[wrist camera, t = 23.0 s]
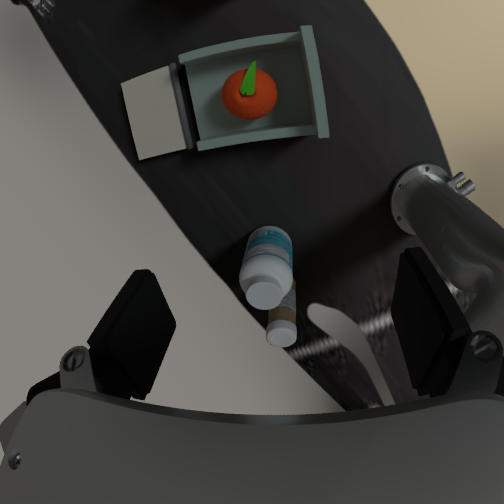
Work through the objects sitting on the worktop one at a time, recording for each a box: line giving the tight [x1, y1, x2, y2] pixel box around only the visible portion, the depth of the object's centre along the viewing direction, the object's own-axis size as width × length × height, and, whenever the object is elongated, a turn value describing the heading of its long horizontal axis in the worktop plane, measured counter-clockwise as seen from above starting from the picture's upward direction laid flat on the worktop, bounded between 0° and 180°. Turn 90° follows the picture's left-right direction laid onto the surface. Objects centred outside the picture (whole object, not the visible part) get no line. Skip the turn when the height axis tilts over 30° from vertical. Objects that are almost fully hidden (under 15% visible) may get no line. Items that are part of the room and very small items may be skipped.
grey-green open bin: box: [178, 25, 329, 151], centre depth 30 cm, size 17×13×9 cm
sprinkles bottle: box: [266, 279, 297, 347], centre depth 45 cm, size 5×5×13 cm
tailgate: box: [121, 63, 194, 160], centre depth 35 cm, size 1×13×9 cm
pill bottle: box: [239, 226, 293, 310], centre depth 41 cm, size 8×7×14 cm
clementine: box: [222, 60, 278, 120], centre depth 30 cm, size 8×7×7 cm
